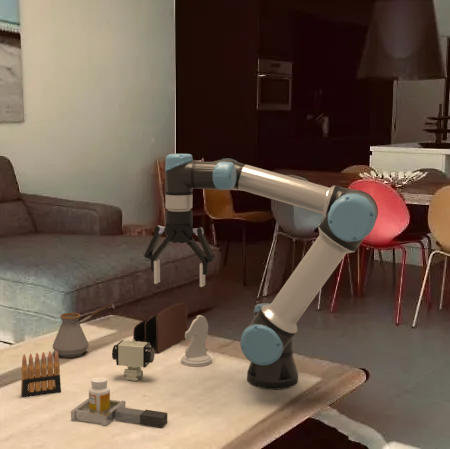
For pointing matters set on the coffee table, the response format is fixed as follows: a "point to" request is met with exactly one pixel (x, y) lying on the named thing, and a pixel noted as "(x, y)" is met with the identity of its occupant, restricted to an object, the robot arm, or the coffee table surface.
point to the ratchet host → (119, 415)
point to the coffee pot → (72, 334)
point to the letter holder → (163, 328)
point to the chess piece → (197, 344)
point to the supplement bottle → (99, 396)
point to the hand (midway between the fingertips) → (179, 284)
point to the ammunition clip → (40, 376)
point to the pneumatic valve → (133, 357)
